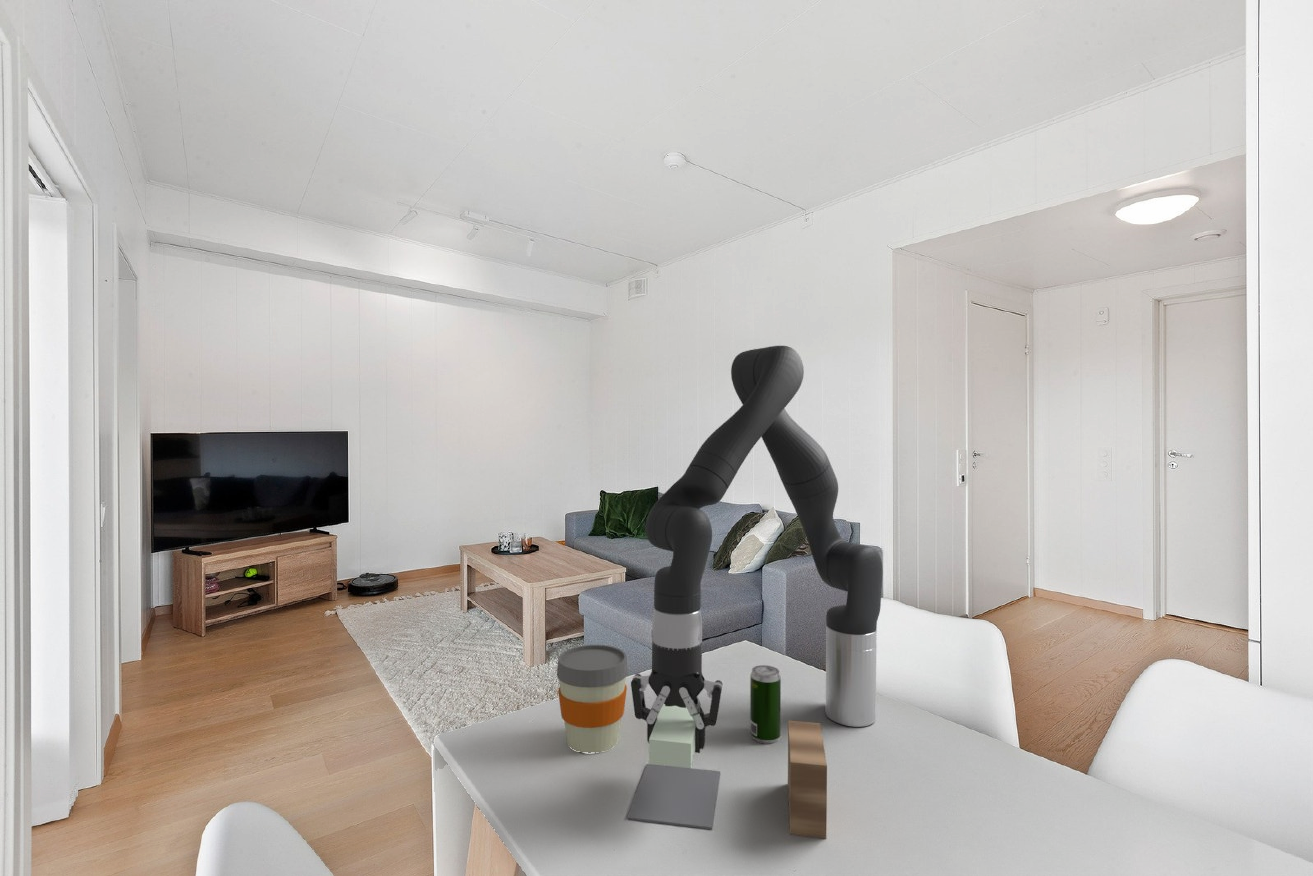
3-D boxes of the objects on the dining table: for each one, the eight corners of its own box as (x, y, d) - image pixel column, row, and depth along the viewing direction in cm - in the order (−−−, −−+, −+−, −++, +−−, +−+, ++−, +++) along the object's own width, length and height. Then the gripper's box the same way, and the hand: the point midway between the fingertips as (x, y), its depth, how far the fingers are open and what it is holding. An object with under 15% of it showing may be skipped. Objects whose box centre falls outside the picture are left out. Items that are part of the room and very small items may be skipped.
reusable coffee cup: (543, 751, 106) (542, 664, 106) (579, 718, 118) (578, 640, 117) (608, 766, 101) (608, 676, 101) (639, 731, 113) (639, 649, 113)
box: (787, 783, 97) (788, 720, 96) (819, 787, 96) (820, 723, 95) (790, 834, 85) (790, 762, 84) (826, 838, 84) (827, 765, 84)
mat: (647, 765, 102) (647, 763, 102) (720, 773, 99) (720, 771, 99) (627, 819, 88) (627, 817, 88) (712, 829, 86) (712, 827, 86)
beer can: (764, 747, 107) (764, 679, 107) (743, 734, 112) (744, 668, 111) (786, 739, 110) (787, 672, 110) (765, 726, 115) (766, 662, 114)
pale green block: (663, 723, 100) (663, 702, 100) (700, 727, 99) (700, 705, 99) (648, 763, 88) (649, 739, 88) (690, 768, 87) (690, 743, 87)
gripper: (726, 632, 95) (725, 740, 96) (635, 626, 98) (634, 731, 98) (723, 650, 88) (721, 766, 88) (624, 642, 91) (623, 756, 91)
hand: (676, 747), depth 93 cm, fingers closed on pale green block, 6 cm apart
